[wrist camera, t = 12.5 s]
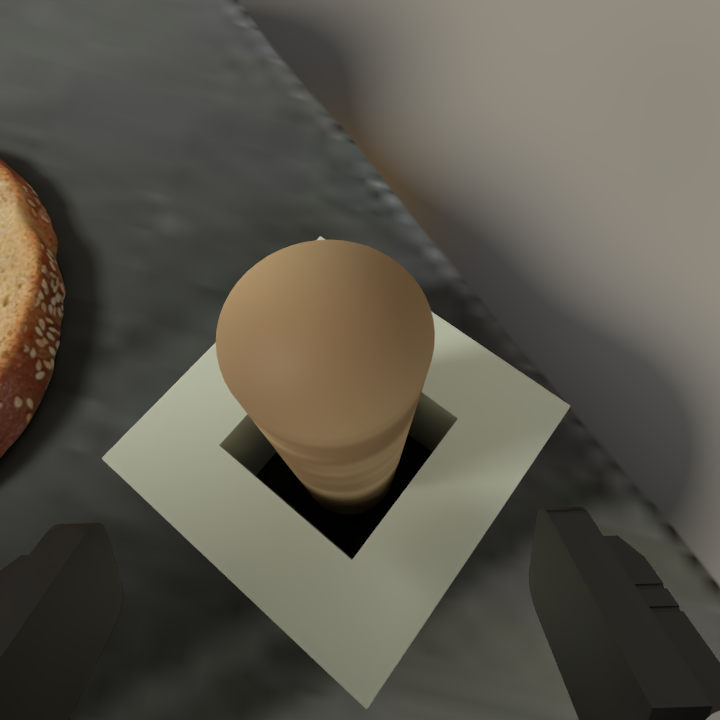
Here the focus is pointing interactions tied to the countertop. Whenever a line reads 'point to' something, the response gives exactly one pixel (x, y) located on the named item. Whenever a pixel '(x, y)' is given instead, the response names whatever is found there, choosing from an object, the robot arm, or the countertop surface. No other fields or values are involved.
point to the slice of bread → (26, 304)
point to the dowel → (329, 364)
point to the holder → (312, 547)
